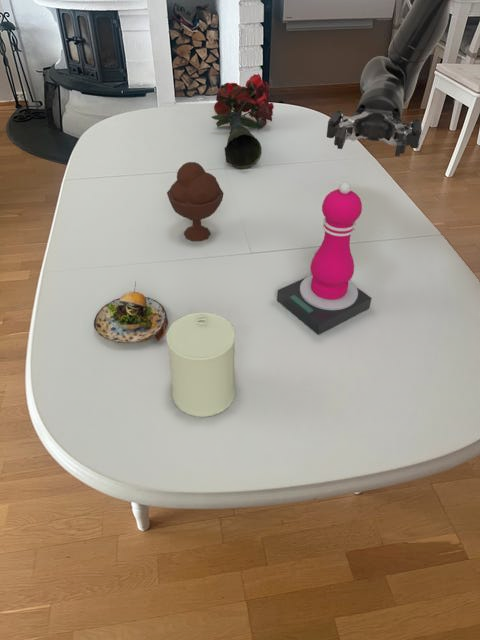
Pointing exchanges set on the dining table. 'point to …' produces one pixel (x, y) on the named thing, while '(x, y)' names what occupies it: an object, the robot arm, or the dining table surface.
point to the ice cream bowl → (195, 198)
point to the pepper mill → (336, 244)
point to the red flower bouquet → (243, 119)
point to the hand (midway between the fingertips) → (369, 146)
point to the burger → (131, 319)
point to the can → (202, 363)
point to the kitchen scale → (322, 305)
